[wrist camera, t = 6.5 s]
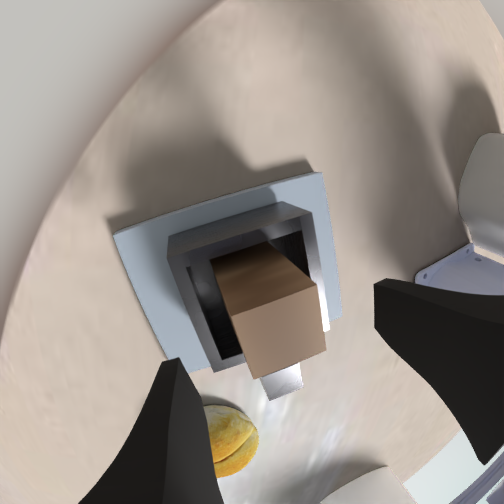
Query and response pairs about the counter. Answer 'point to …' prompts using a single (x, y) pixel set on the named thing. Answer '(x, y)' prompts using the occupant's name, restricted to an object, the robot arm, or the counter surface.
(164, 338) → the mounting board
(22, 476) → the counter surface
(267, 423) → the counter surface
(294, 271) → the brown rectangular block
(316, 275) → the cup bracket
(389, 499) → the canister
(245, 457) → the bread roll
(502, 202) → the lumpy-topped squat cylinder
